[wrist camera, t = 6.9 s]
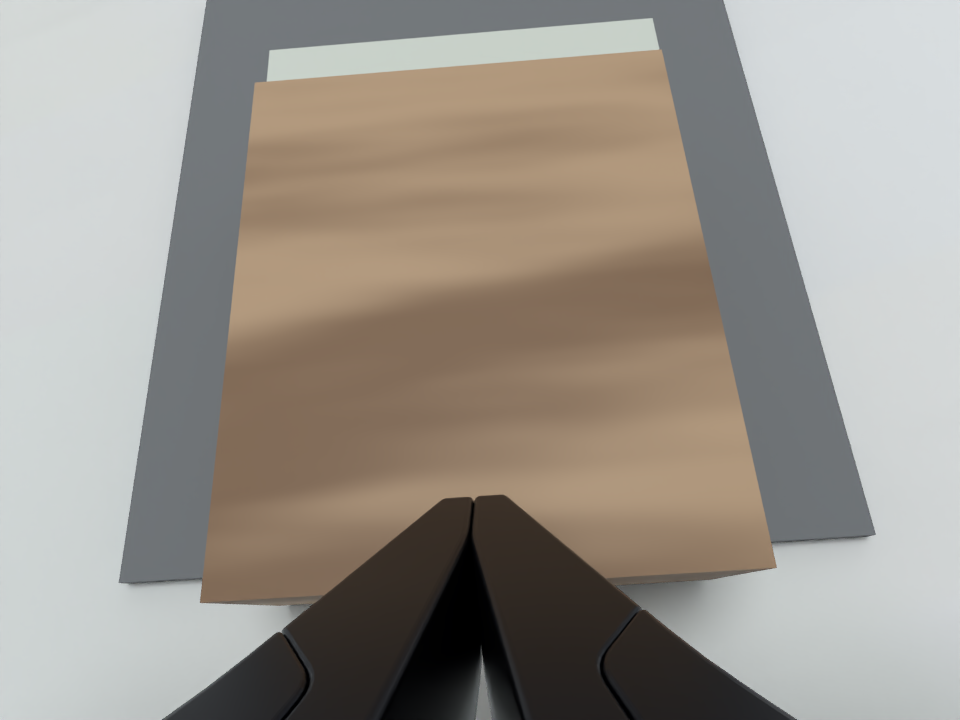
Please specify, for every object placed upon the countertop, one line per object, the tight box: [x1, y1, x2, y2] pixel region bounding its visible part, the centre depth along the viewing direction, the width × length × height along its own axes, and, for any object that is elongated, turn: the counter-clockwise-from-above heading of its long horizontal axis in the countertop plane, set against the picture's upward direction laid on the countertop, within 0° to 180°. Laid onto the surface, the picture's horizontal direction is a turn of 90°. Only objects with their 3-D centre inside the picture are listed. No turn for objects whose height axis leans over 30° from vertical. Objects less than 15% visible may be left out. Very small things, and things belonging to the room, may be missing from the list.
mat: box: [119, 0, 876, 583], centre depth 19 cm, size 20×18×1 cm
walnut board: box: [200, 49, 777, 606], centre depth 15 cm, size 4×10×12 cm
